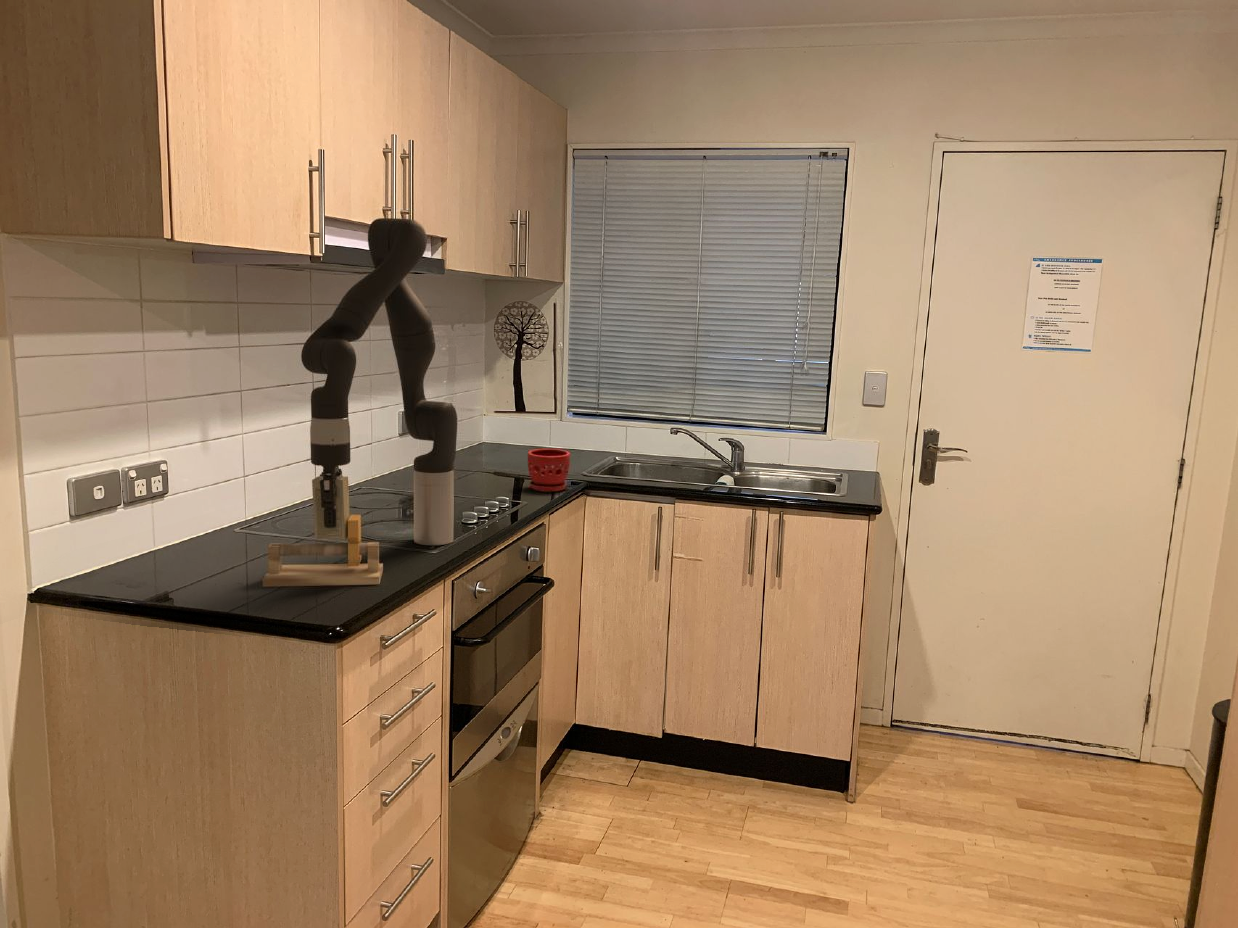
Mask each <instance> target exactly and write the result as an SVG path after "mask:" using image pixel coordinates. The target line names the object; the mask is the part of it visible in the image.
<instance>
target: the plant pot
mask: <svg viewBox="0 0 1238 928" xmlns="http://www.w3.org/2000/svg"><path fill="white" fill-rule="evenodd" d="M570 458H571V455H570V452H569V451H568V450H563V449H557V448H537V449H532V450H528V452H527V470H528V475H529V477H530V479H531V481H530V482H529V483H528V484H529V486H530V488H531V489H533V490H535V491H538V492H542V493H544V492H546V493H552V492H553V493H554V492H560V491H563V490H564V489H566V487H567V484H568V483H567V482H566V479H567V477H568V474H569V469H570V463H571V462H570V461H571V459H570ZM552 466H553V467H552Z"/></svg>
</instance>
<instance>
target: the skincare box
mask: <svg viewBox="0 0 1238 928" xmlns="http://www.w3.org/2000/svg"><path fill="white" fill-rule="evenodd" d="M319 479H320V475H319V476H317V477H315V478H313V479H311V488H312V489H311V490H312V507H313V508H312V511H313V530H314V534H313V535H314V540H346V539H348V519H349V517H350V515H351V514H350V493H349V490H350V489H349V476H343V477H341V479H340V480H335V482H336V485H339V496H338V497H337V498H336V505H337V507H336V527H334V528H326V527H325V526H324V509H323V508H322V506H321V495H320V492H321V490H320V481H319ZM334 492H336V486H335V489H334ZM326 502H332V499H331V498H330V497H327V498H326Z"/></svg>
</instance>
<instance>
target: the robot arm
mask: <svg viewBox="0 0 1238 928" xmlns="http://www.w3.org/2000/svg"><path fill="white" fill-rule="evenodd" d="M427 237H428V236H427V233H426V231H425V228H424V227H423V224H422V223H420V222H419V221H417V220H415V219H410V218H397V217H396V218H394V217H393V218H390V217H388V218H387V217H385V218H384V217H382V218H381V217H380V218H376V219H374V220H373V221H372V222H371V223H370V224H369V227H368V231H367V244H368V250H369V254H370V257H371V261H372V264H373V266H374V270H372V271H371V272H370V273H368V274H367V275H366V276H364V277H363V278H362V279H360V280H358V281H357V282H356V283H355V284H354V285H353V286H351V288H349V289H348V290H347V292H346V293H345V294H344V295H343V297H342V298H341V300H340V301H339V303H338V304H337V306H336V308H335V309H334V311H333V312H332V315H331V316H330V317H329V318H327V320H325V321H324V322H323V323H322V324H321V325H320V326H319V327H318V328H317V329H316V330H315V331H314V332H313V333H312V334H311V335H309V337H308V338H307V339H306V341H305V342H304V344H303V346H302V350H301V355H300V357H301V358H300V359H301V363H302V366H303V367H304V368H305V369H306V370H307V372H308V371H309V372H310V373H313V374H316V375H317V374H319V375H326V378H325V382H324V385H322V386H318V387H315V388H313V390H312V391H311V393H310V412H311V413H310V426H309V437H310V443H309V445H310V463H311V464H312V465H314V466H318V467H320V466H321V467H322V468H323V469H322V471H321V474H319V476H320V479H319V481H320V490H321V492H320V495H321V506H322V508H323V509H324V526H325V527H326V528H334V527H336V507H337V505H336V498H337V497H338V496H339V485H336V482H335V480H340V479H341V477H344V476H343V470H342V468H340V467H342V466H345V465H348V464H350V463H351V427H350V421H349V395H350V391H351V388H352V383H353V380H354V375H355V372H356V369H357V368H356V367H357V355H356V351H355V349H354V346H353V345H352V344H351V342H355V341H358V340H360V339H361V338H362V337H363V336H364V335H365V333H366V331H367V329H368V328H369V326H370V324H371V323H372V321H373V320H374V318H375V316H376V315H377V313H378V311H379V310H380V308H381V306H382V305H383V304H384V305H385V310H386V314H387V315H386V316H387V320H388V326H389V333H390V337H391V341H392V346H393V350H394V355H395V358H396V363H397V368H398V374H399V379H400V387H401V394H402V404H403V414H404V420H405V426H406V429H407V432H408V434H409V435H410V436H411V437H412V438H413V439H415V440H419V441H429V442H433V443H432V448H431V450H430V451H429V452H428V453H423V454H421V455H418V456H416V457H414V459H413V542H414V543H415V544H417V545H424V546H442V545H449V544H452V543H453V542H454V523H455V521H454V520H455V519H454V514H455V513H454V511H455V510H454V509H455V508H454V507H455V504H454V503H455V500H454V496H455V491H454V489H455V486H454V485H455V479H454V477H455V476H454V475H455V473H454V471H455V470H454V469H455V459H456V455H457V454H456V453H457V436H458V414H457V410H456V407H455V406H454V405H453V404H452V403H451V402H445V401H433V400H431V401H430V400H427V398H426V395H425V389H424V388H425V387H424V380H425V376H426V375H427V374H426V373H427V371H428V369H429V367H430V365H431V363H432V360H433V358H434V355H435V352H436V339H435V332H434V327H433V323H432V318H431V316H430V315H429V313H428V311H427V309H426V307H425V306H424V304H423V303H422V302H421V301H420V299H419V298H418V297H417V295H416V294H415V293H414V291H413V289H412V287H411V286H410V285H409V283H408V281H407V279H406V277H407V275H408V274H409V273H410V272H411V271H412V270H413V269H414V268H415V267H416V265H418V263H419V262H420V260H421V259H422V258H423V256H424V254H425V253H426V249H427V244H428V238H427ZM335 486H336V492H334V489H335ZM327 497H330V498H331V499H332V502H326V498H327Z"/></svg>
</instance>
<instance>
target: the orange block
mask: <svg viewBox="0 0 1238 928" xmlns="http://www.w3.org/2000/svg"><path fill="white" fill-rule="evenodd" d="M361 518H362V515H361V514H350V517H349V519H348V537H347V542H348V556H347V557H348V558H347V564H348V566H359V564H361V562H362V561H361V560H362V555H359V543H362V524H361V523H362V521H361V520H362V519H361Z"/></svg>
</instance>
